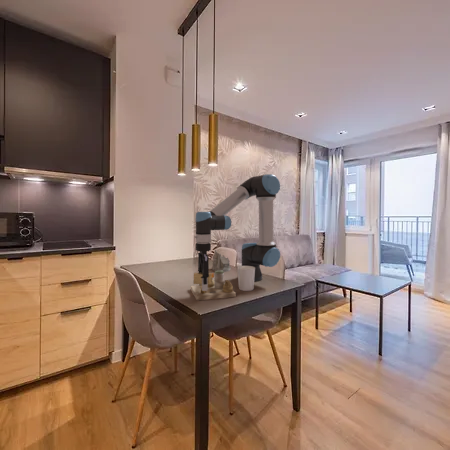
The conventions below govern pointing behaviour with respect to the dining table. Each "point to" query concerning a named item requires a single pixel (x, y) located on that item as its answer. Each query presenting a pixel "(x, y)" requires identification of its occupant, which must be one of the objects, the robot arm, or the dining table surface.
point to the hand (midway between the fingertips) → (203, 288)
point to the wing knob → (199, 280)
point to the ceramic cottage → (220, 263)
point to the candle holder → (246, 278)
